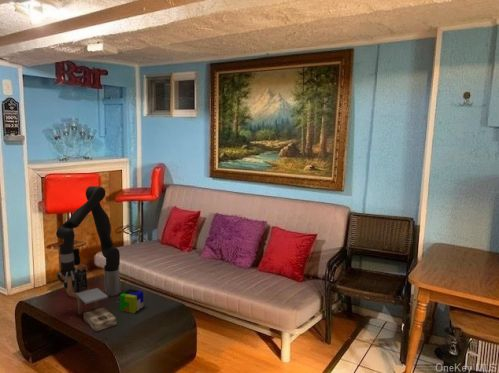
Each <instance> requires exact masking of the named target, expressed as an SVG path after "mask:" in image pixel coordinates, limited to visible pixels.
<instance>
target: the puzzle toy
mask: <svg viewBox="0 0 499 373" xmlns="http://www.w3.org/2000/svg"><path fill="white" fill-rule="evenodd" d="M144 304H145V303H144V291H142V290H137V289H130V288H129V289H128V290H127V291H125V292H123V293H122V294H121V293H120V295H119V305H120V307H119V309H120V311H122V312H125V311H126V313H131V314H136V313H137V312H138V311H139V310H141V309H142V308H143V307H144ZM140 308H141V309H140ZM136 311H137V312H136Z"/></svg>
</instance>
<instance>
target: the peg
mask: <svg viewBox="0 0 499 373" xmlns="http://www.w3.org/2000/svg"><path fill="white" fill-rule="evenodd" d="M71 292H73V290H72V277H71V276H68V277H67V288H66V293H67V294H68V293H71Z"/></svg>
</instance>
